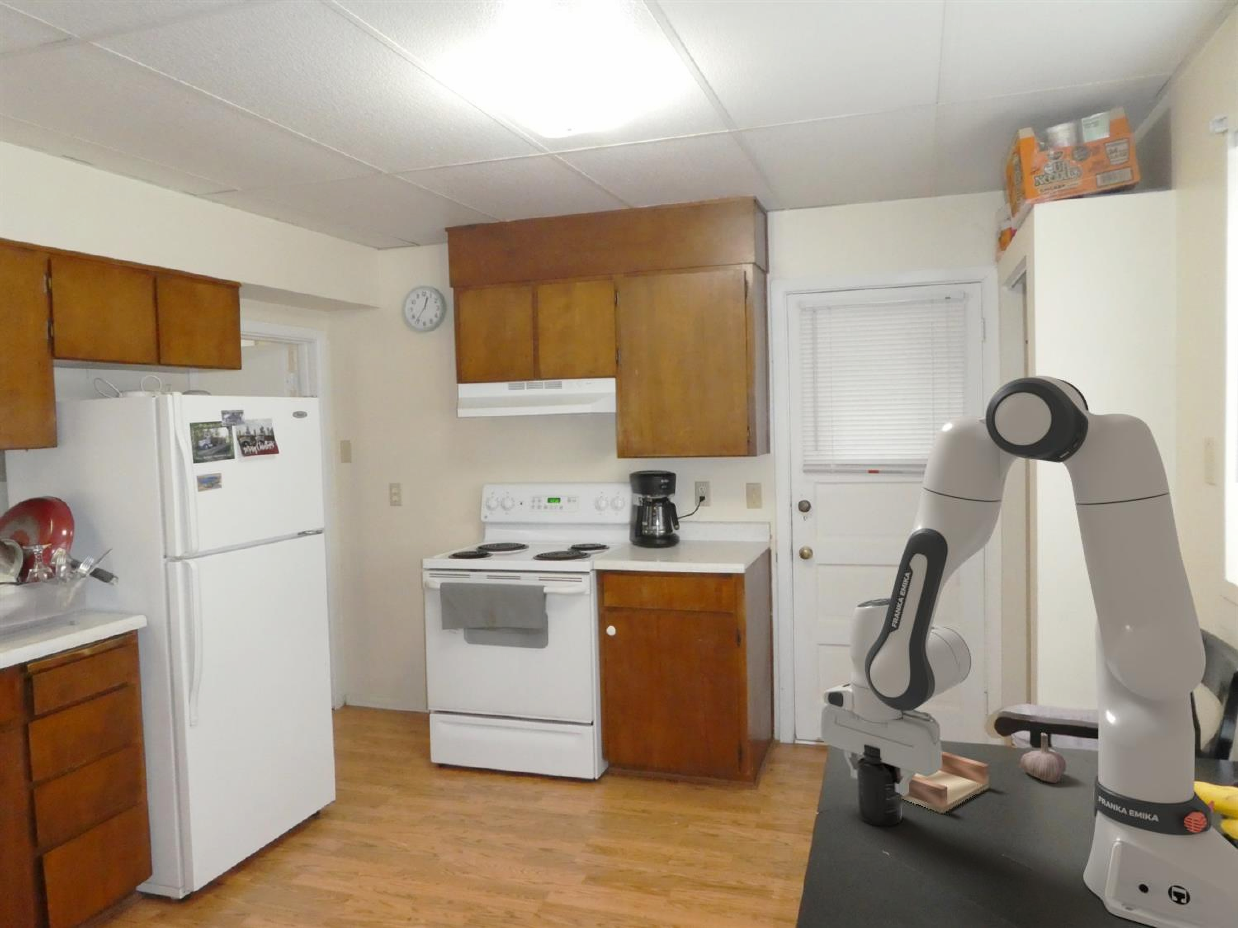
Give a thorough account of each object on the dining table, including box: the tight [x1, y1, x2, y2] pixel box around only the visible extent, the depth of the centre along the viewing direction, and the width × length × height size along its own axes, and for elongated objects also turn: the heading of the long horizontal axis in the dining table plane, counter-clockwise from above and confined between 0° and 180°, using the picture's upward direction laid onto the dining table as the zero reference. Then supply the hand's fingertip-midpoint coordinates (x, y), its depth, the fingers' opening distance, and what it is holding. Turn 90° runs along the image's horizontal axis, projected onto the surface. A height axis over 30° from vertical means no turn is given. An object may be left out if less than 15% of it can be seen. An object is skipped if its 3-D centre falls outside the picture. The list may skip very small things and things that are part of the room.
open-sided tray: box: [901, 750, 990, 814], centre depth 153 cm, size 14×15×4 cm
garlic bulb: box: [1019, 732, 1067, 784], centre depth 157 cm, size 8×7×8 cm
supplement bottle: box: [856, 744, 903, 827], centre depth 142 cm, size 7×7×12 cm
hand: (879, 786), depth 142 cm, fingers closed on supplement bottle, 7 cm apart
